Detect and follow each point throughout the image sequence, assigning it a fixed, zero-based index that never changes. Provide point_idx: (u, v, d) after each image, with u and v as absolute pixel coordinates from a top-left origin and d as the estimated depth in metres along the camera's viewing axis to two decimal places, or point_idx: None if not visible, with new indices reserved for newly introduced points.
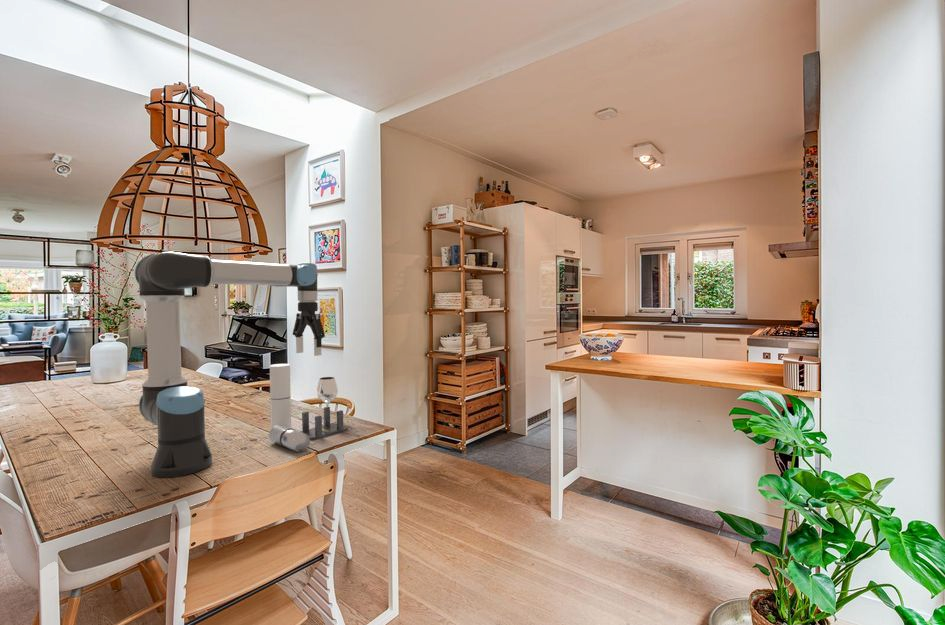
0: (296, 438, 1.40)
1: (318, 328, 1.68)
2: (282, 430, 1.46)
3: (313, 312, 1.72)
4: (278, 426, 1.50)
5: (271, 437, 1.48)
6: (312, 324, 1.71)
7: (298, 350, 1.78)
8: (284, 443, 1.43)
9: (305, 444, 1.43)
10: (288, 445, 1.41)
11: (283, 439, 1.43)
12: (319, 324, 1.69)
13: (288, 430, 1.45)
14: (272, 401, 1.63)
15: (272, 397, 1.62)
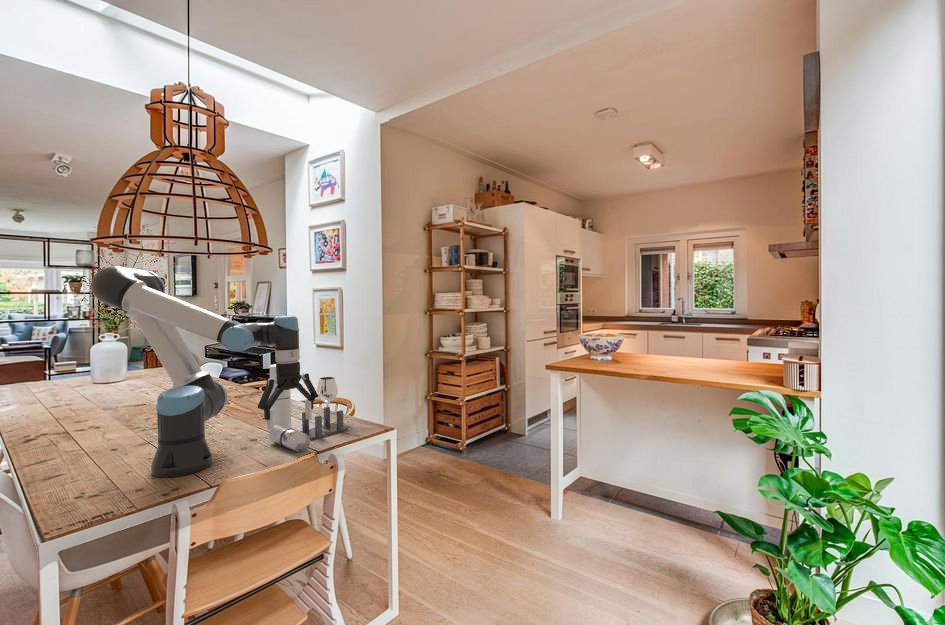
0: (296, 438, 1.40)
1: (262, 397, 1.40)
2: (282, 430, 1.46)
3: (277, 376, 1.43)
4: (278, 426, 1.50)
5: (271, 437, 1.48)
6: (275, 390, 1.43)
7: (306, 416, 1.52)
8: (284, 443, 1.43)
9: (305, 444, 1.43)
10: (288, 445, 1.41)
11: (283, 439, 1.43)
12: (265, 392, 1.40)
13: (288, 430, 1.45)
14: None
15: None
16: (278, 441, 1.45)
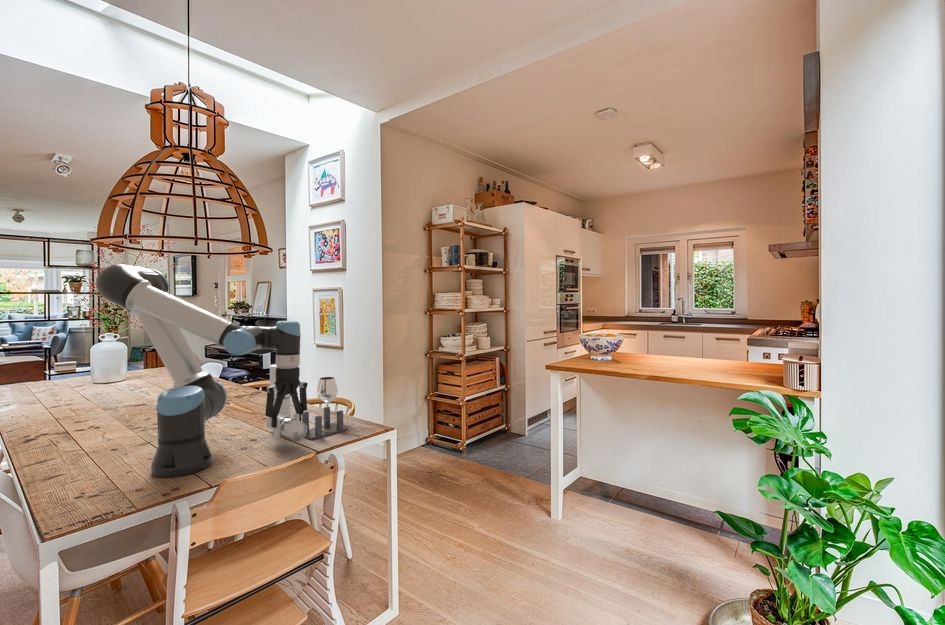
0: (294, 426, 1.40)
1: (266, 405, 1.41)
2: (280, 418, 1.46)
3: (276, 380, 1.43)
4: None
5: (269, 425, 1.48)
6: (277, 397, 1.44)
7: None
8: (281, 431, 1.42)
9: (302, 433, 1.42)
10: (285, 433, 1.41)
11: (281, 427, 1.43)
12: (268, 400, 1.41)
13: (286, 418, 1.45)
14: None
15: None
16: None
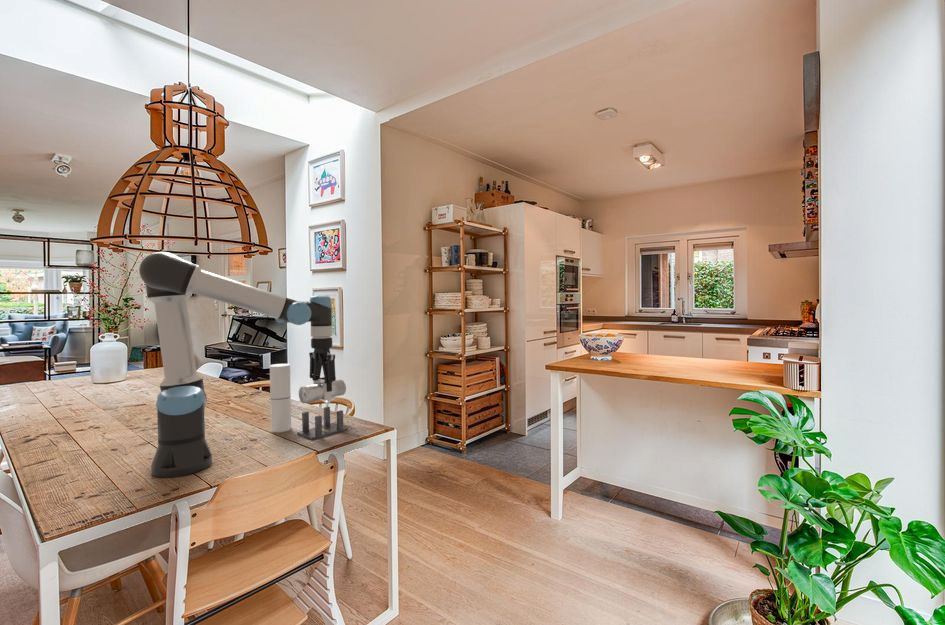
0: None
1: (330, 371, 1.57)
2: (320, 385, 1.60)
3: (328, 349, 1.59)
4: (308, 386, 1.57)
5: (311, 395, 1.55)
6: (325, 364, 1.59)
7: None
8: (333, 392, 1.62)
9: None
10: (339, 391, 1.64)
11: None
12: (332, 367, 1.58)
13: None
14: (272, 401, 1.63)
15: (272, 397, 1.62)
16: (323, 394, 1.59)
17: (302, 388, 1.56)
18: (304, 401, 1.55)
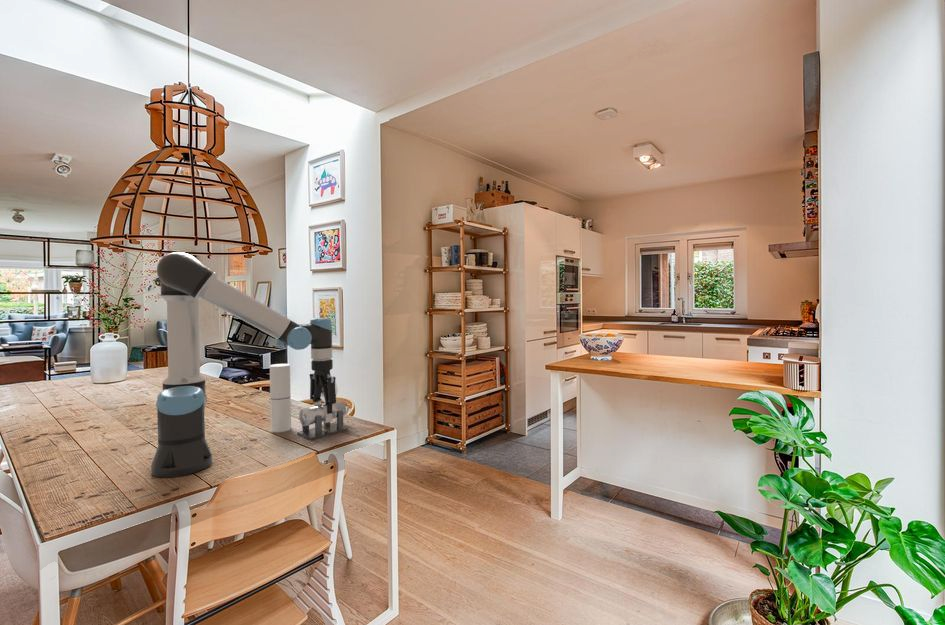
0: None
1: (330, 394, 1.57)
2: (321, 407, 1.60)
3: (328, 371, 1.59)
4: (308, 408, 1.57)
5: (312, 418, 1.55)
6: (325, 387, 1.59)
7: None
8: (333, 413, 1.62)
9: None
10: None
11: (332, 410, 1.62)
12: (332, 389, 1.58)
13: None
14: (272, 401, 1.63)
15: (272, 397, 1.62)
16: (323, 417, 1.59)
17: (303, 411, 1.56)
18: (305, 424, 1.56)
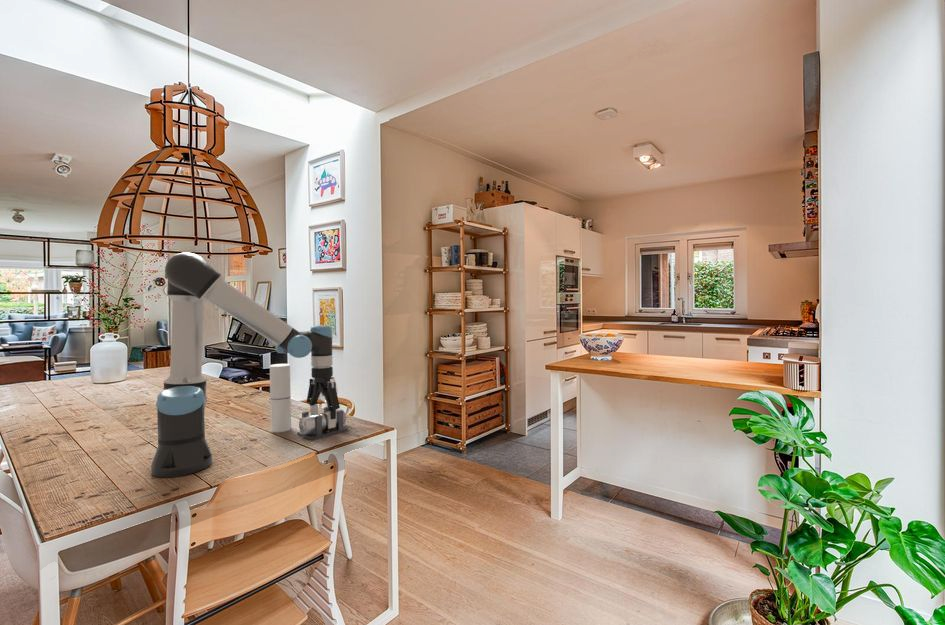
0: None
1: (333, 399, 1.56)
2: (321, 415, 1.60)
3: (328, 379, 1.59)
4: (308, 417, 1.57)
5: (312, 427, 1.56)
6: (326, 393, 1.59)
7: None
8: None
9: None
10: None
11: None
12: (334, 394, 1.57)
13: (326, 413, 1.63)
14: (272, 401, 1.63)
15: (272, 397, 1.62)
16: (323, 425, 1.59)
17: (302, 419, 1.56)
18: (304, 432, 1.56)
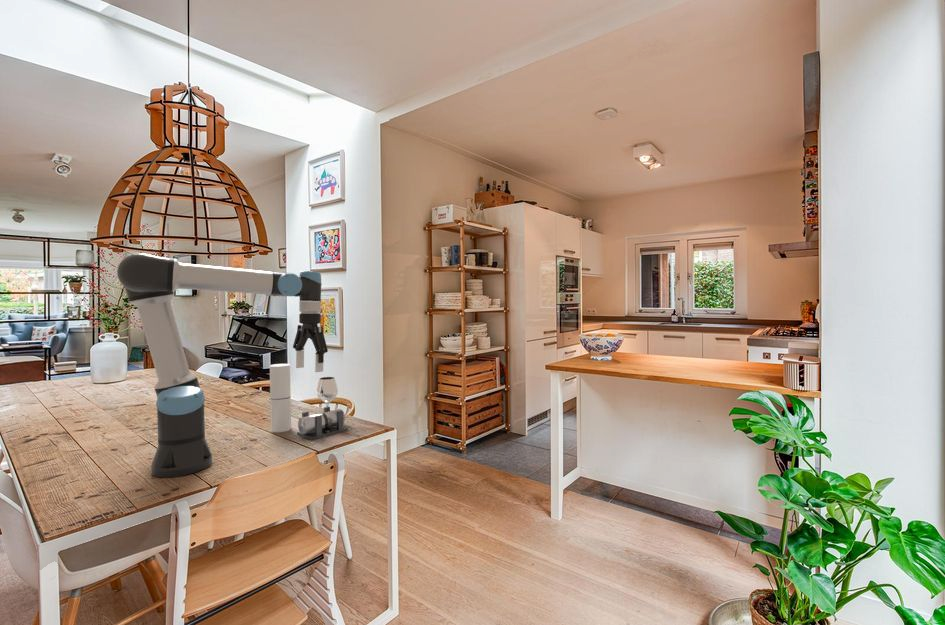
0: None
1: (320, 342, 1.55)
2: (319, 414, 1.61)
3: (315, 324, 1.58)
4: (306, 416, 1.58)
5: (311, 425, 1.56)
6: (314, 337, 1.58)
7: (298, 365, 1.64)
8: (332, 420, 1.63)
9: None
10: None
11: (330, 417, 1.62)
12: (322, 338, 1.56)
13: (324, 412, 1.63)
14: (272, 401, 1.63)
15: (272, 397, 1.62)
16: (322, 423, 1.59)
17: (300, 419, 1.57)
18: (304, 432, 1.56)
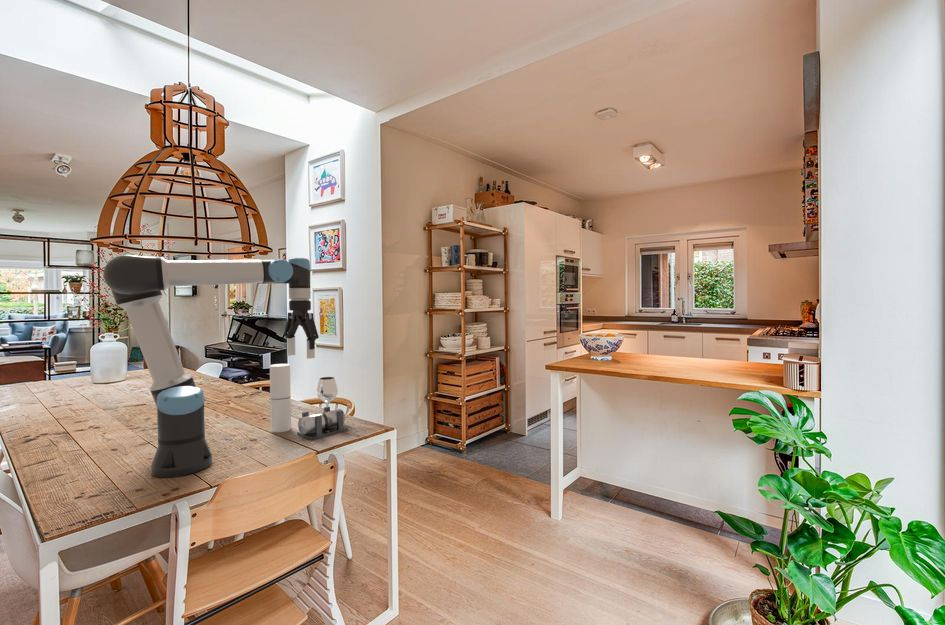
0: None
1: (311, 328, 1.55)
2: (319, 414, 1.61)
3: (306, 311, 1.58)
4: None
5: (311, 425, 1.56)
6: (305, 324, 1.58)
7: (290, 352, 1.65)
8: (332, 420, 1.63)
9: None
10: None
11: (330, 417, 1.62)
12: (312, 324, 1.56)
13: (324, 412, 1.63)
14: (272, 401, 1.63)
15: (272, 397, 1.62)
16: (322, 423, 1.59)
17: (301, 419, 1.57)
18: (304, 432, 1.56)
